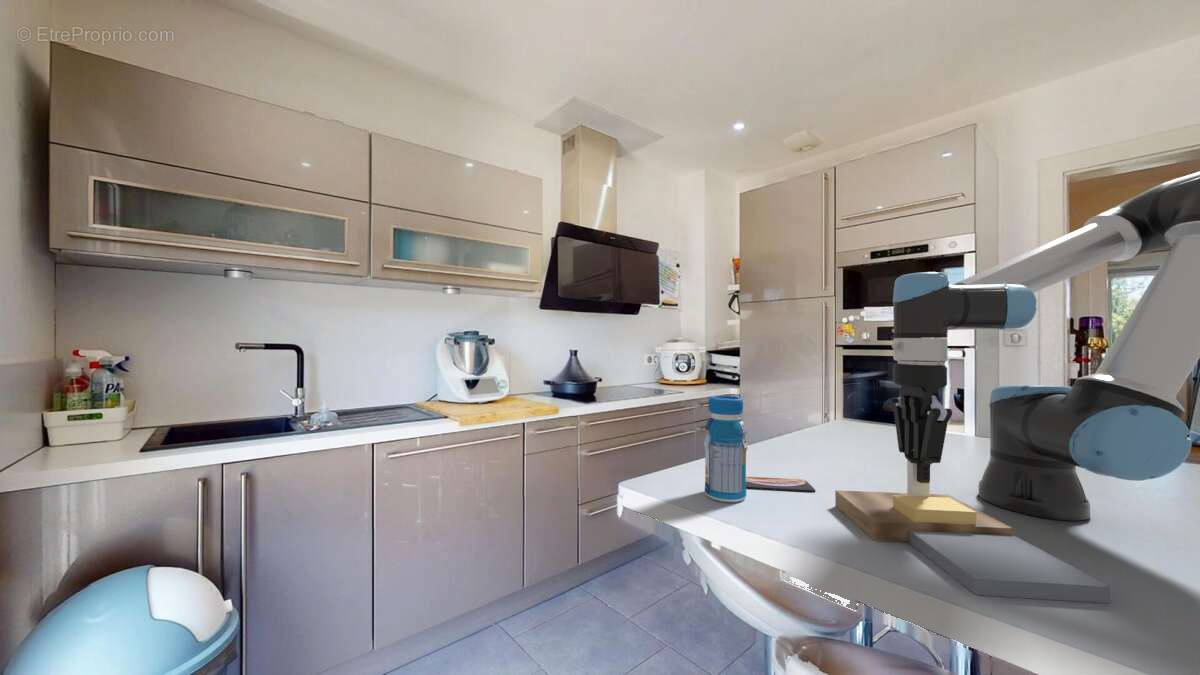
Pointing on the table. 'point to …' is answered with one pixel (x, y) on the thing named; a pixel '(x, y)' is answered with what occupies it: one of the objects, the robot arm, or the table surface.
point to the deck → (904, 517)
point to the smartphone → (778, 484)
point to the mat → (1007, 567)
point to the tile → (934, 510)
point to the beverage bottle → (725, 450)
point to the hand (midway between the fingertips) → (918, 498)
